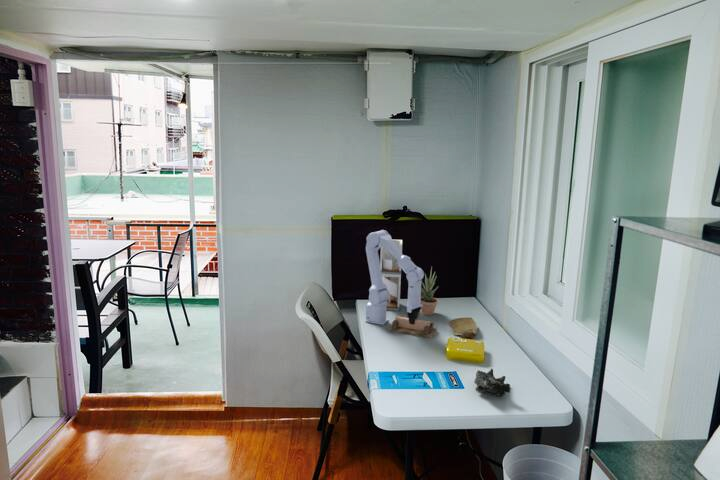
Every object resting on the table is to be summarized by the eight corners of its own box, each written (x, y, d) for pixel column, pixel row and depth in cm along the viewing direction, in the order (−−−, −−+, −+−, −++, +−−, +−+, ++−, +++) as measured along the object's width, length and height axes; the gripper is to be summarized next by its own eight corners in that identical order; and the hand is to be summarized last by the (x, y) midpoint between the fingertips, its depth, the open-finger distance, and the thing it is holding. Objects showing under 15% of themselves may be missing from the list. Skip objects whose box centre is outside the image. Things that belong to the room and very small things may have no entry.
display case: (379, 302, 268) (382, 238, 261) (399, 303, 267) (402, 239, 260) (378, 309, 257) (380, 243, 250) (399, 310, 256) (402, 244, 249)
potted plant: (438, 316, 249) (441, 268, 244) (419, 316, 249) (422, 268, 244) (435, 309, 258) (438, 263, 253) (417, 309, 258) (419, 263, 254)
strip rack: (388, 330, 228) (388, 321, 228) (395, 323, 237) (396, 315, 237) (430, 338, 221) (431, 329, 220) (436, 330, 230) (437, 322, 229)
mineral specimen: (522, 387, 167) (506, 361, 168) (490, 408, 166) (474, 381, 167) (506, 381, 182) (492, 357, 183) (477, 400, 180) (463, 376, 181)
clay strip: (395, 325, 231) (395, 317, 230) (396, 324, 233) (397, 316, 232) (428, 331, 225) (428, 323, 224) (430, 330, 227) (430, 321, 226)
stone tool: (482, 341, 218) (472, 321, 242) (481, 332, 217) (471, 313, 242) (455, 343, 219) (448, 323, 243) (454, 334, 218) (448, 315, 242)
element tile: (445, 360, 200) (445, 349, 199) (447, 345, 214) (448, 335, 213) (483, 365, 196) (484, 353, 195) (483, 350, 211) (484, 339, 210)
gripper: (418, 300, 217) (416, 329, 220) (427, 291, 231) (425, 319, 233) (402, 297, 220) (401, 326, 223) (412, 289, 233) (411, 316, 236)
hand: (412, 322), depth 228 cm, fingers closed on clay strip, 2 cm apart
